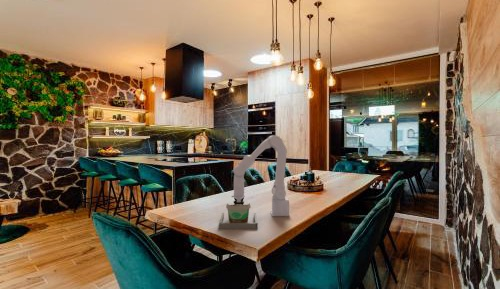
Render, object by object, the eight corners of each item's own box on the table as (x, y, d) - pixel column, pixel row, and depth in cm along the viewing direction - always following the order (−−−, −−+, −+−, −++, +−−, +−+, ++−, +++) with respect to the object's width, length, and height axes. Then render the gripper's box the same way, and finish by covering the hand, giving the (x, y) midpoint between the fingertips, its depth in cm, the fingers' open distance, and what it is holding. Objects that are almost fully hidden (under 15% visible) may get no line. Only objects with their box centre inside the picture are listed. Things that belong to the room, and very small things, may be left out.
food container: (225, 227, 122) (225, 206, 122) (226, 222, 128) (226, 203, 128) (251, 226, 123) (251, 206, 123) (250, 222, 129) (250, 202, 129)
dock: (255, 217, 137) (255, 212, 137) (257, 228, 120) (257, 223, 120) (222, 217, 137) (222, 213, 136) (219, 229, 120) (219, 223, 119)
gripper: (232, 185, 147) (232, 208, 147) (231, 190, 133) (231, 216, 133) (244, 184, 147) (244, 208, 148) (244, 190, 133) (244, 216, 133)
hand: (238, 212), depth 140 cm, fingers open, 7 cm apart
